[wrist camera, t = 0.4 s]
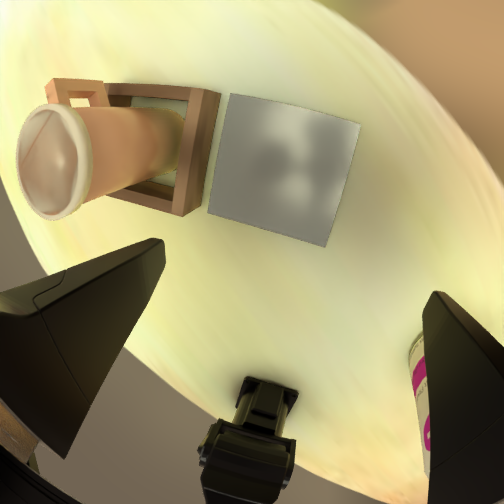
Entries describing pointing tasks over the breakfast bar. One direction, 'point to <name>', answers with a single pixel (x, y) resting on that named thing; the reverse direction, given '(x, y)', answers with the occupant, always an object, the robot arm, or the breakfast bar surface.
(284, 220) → the tile
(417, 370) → the supplement can
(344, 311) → the breakfast bar surface
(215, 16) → the breakfast bar surface
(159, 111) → the peach plastic cup
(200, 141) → the frame
